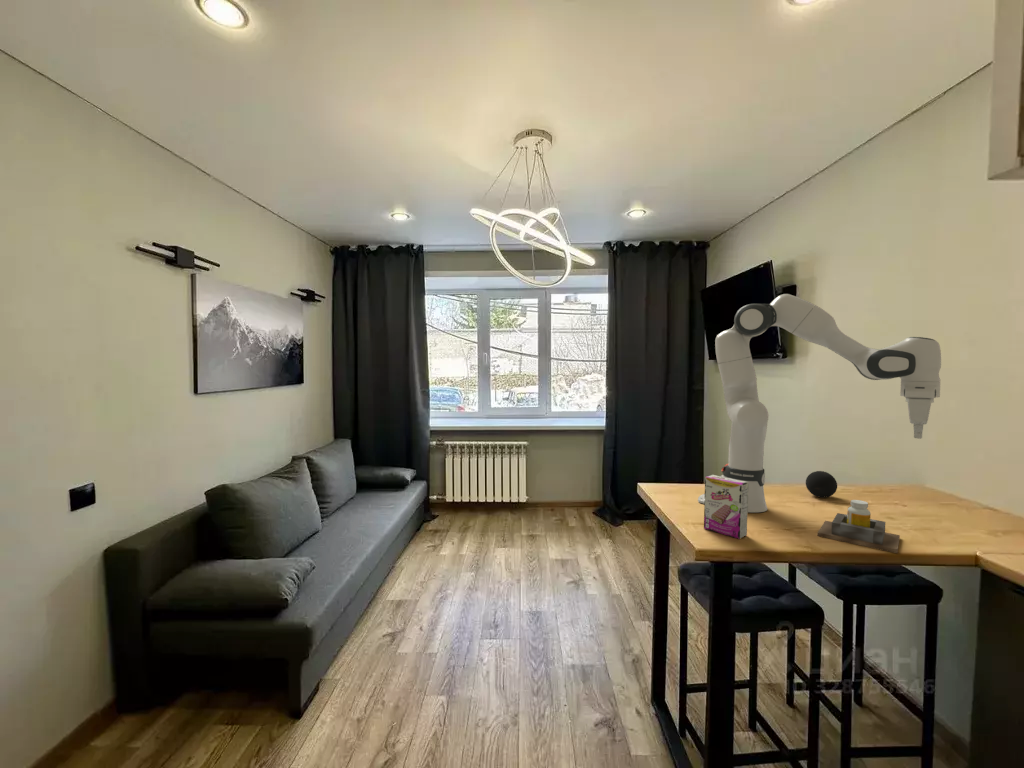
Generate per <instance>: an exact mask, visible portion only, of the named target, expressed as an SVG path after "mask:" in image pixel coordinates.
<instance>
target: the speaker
mask: <svg viewBox="0 0 1024 768" xmlns="http://www.w3.org/2000/svg"><path fill="white" fill-rule="evenodd" d="M805 486H806V487H805V488H806V489H807V490H808V492H809V493H810V494H811V495H813V496H815V497H818V498H824V499H825V498H829V497H832V496H834V494H836V492H837V490H838V482H837V480H836V478H835V477H834V476H833V475H832V474H831V473H829V472H827V471H823V470H816V471H812V472H810V473H809V474H808V475H807V477H806V479H805Z"/></svg>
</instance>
